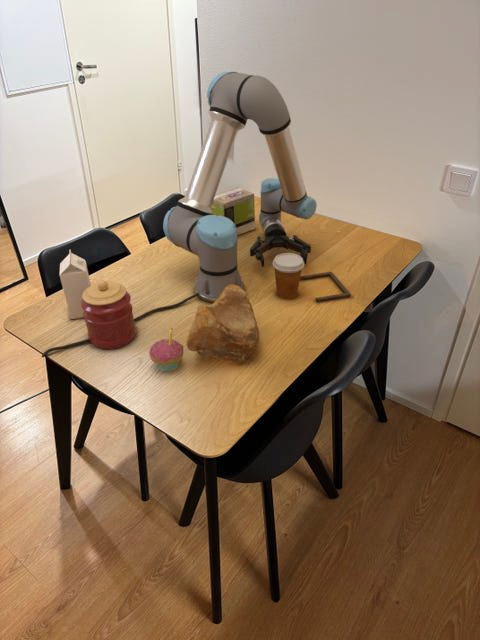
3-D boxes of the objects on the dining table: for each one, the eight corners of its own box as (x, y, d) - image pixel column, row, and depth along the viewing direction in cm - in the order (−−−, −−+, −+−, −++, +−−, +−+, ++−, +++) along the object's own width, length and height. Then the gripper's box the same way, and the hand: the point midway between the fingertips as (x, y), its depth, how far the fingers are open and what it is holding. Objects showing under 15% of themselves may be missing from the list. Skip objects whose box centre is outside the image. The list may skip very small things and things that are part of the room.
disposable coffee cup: (304, 287, 157) (306, 254, 150) (299, 303, 150) (301, 269, 143) (275, 284, 159) (276, 250, 152) (268, 299, 152) (269, 265, 145)
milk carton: (70, 319, 144) (56, 262, 133) (71, 307, 150) (56, 250, 139) (95, 316, 146) (83, 258, 135) (94, 303, 151) (82, 247, 140)
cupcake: (185, 354, 130) (182, 317, 123) (183, 376, 123) (179, 337, 116) (153, 355, 130) (147, 318, 123) (149, 377, 123) (143, 339, 116)
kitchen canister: (90, 354, 131) (76, 298, 121) (88, 326, 141) (75, 273, 131) (139, 345, 134) (130, 289, 124) (133, 319, 144) (125, 266, 134)
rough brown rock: (234, 388, 120) (238, 340, 112) (178, 363, 126) (178, 315, 118) (275, 340, 137) (282, 295, 129) (224, 319, 143) (227, 275, 135)
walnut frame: (316, 302, 150) (317, 299, 149) (299, 278, 162) (299, 276, 161) (350, 297, 152) (351, 294, 152) (331, 274, 164) (331, 271, 163)
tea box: (239, 221, 200) (238, 186, 191) (255, 229, 193) (255, 193, 185) (209, 232, 192) (207, 195, 183) (225, 240, 185) (224, 203, 177)
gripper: (308, 241, 176) (322, 269, 159) (239, 244, 175) (245, 274, 157) (310, 221, 172) (324, 249, 155) (239, 225, 170) (245, 253, 153)
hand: (284, 262), depth 156 cm, fingers open, 13 cm apart
